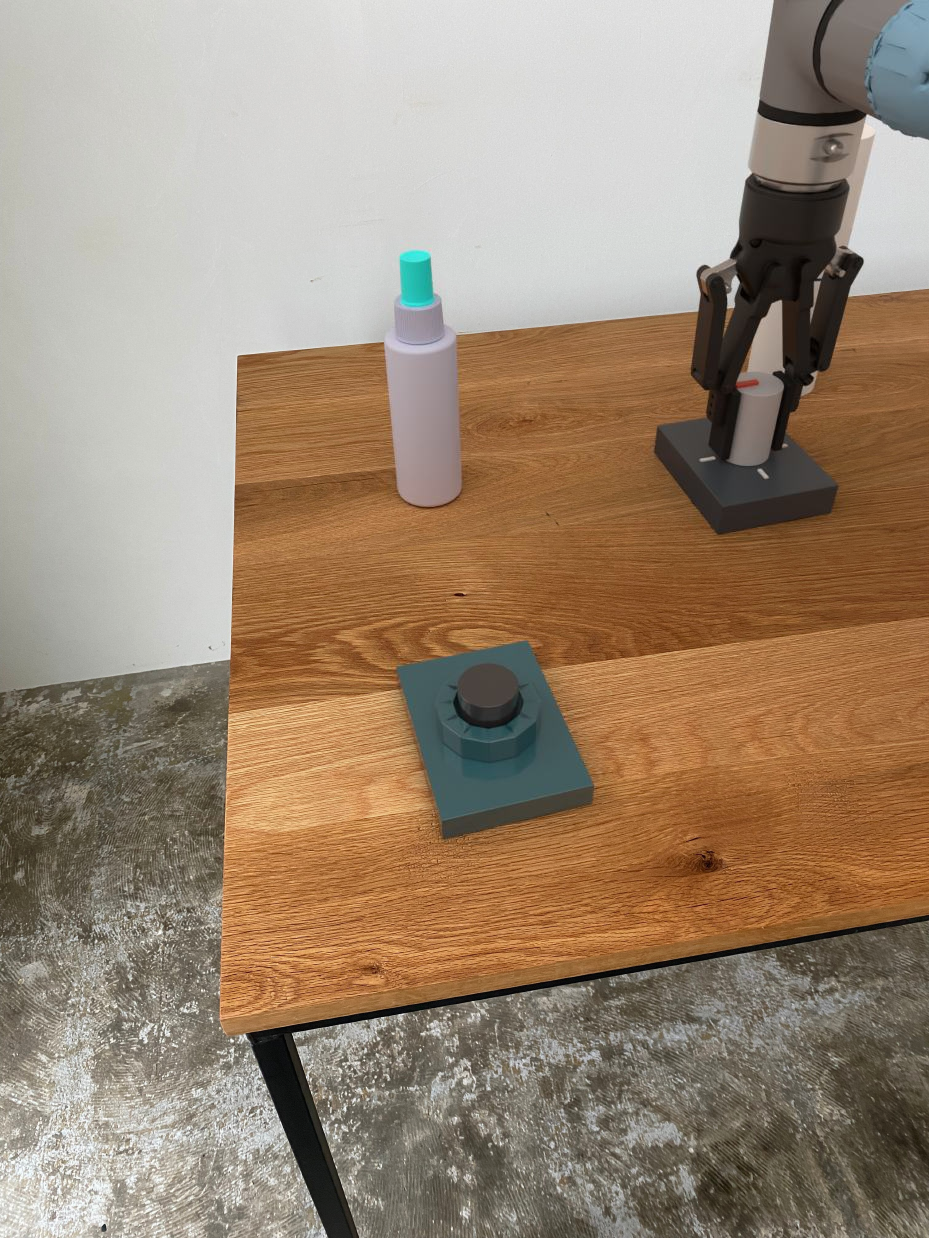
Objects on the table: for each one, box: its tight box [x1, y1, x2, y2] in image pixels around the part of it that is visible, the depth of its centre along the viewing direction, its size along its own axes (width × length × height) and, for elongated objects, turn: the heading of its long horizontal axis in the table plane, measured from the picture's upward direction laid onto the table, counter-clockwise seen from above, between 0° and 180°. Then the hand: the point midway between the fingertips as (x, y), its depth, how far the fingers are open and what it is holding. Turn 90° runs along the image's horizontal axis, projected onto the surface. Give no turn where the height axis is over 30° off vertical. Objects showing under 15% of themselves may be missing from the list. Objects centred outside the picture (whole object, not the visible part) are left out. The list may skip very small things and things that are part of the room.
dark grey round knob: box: [457, 663, 518, 728], centre depth 62 cm, size 4×4×2 cm
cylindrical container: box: [746, 123, 876, 397], centre depth 93 cm, size 7×7×25 cm
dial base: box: [653, 416, 840, 535], centre depth 86 cm, size 14×11×3 cm
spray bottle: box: [383, 249, 463, 508], centre depth 80 cm, size 6×6×22 cm
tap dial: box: [726, 371, 784, 466], centre depth 83 cm, size 4×4×7 cm
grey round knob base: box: [395, 639, 595, 840], centre depth 63 cm, size 14×10×4 cm
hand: (744, 447), depth 85 cm, fingers closed on tap dial, 4 cm apart
